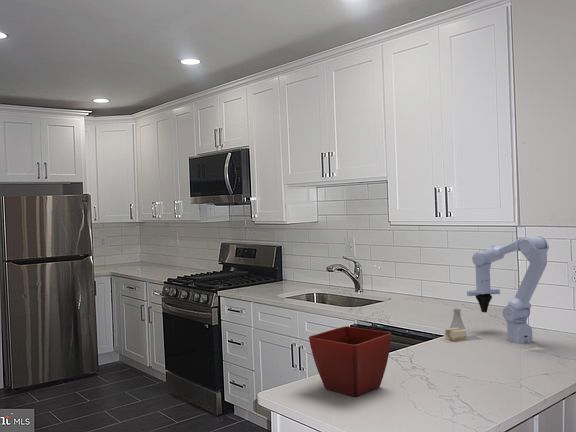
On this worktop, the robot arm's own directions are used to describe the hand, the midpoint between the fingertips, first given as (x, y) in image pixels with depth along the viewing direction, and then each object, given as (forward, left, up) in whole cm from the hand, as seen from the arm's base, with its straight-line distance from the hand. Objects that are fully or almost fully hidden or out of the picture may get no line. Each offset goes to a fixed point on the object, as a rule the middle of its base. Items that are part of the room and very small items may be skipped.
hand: (484, 312), depth 229 cm
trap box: (-6, +13, -10) cm, 18 cm away
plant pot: (-46, +75, -11) cm, 89 cm away
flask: (+12, +6, -11) cm, 17 cm away
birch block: (-6, +17, -9) cm, 20 cm away
